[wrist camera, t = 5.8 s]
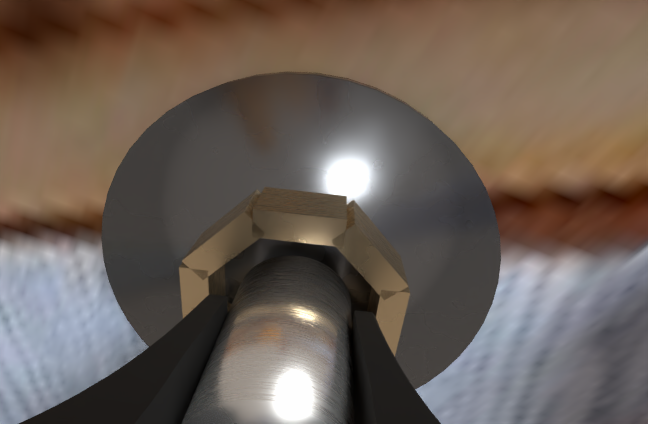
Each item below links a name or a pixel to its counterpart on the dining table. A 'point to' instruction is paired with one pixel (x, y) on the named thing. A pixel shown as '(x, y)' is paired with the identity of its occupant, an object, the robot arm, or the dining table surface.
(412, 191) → the ring collar
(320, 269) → the piston
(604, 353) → the dining table surface
